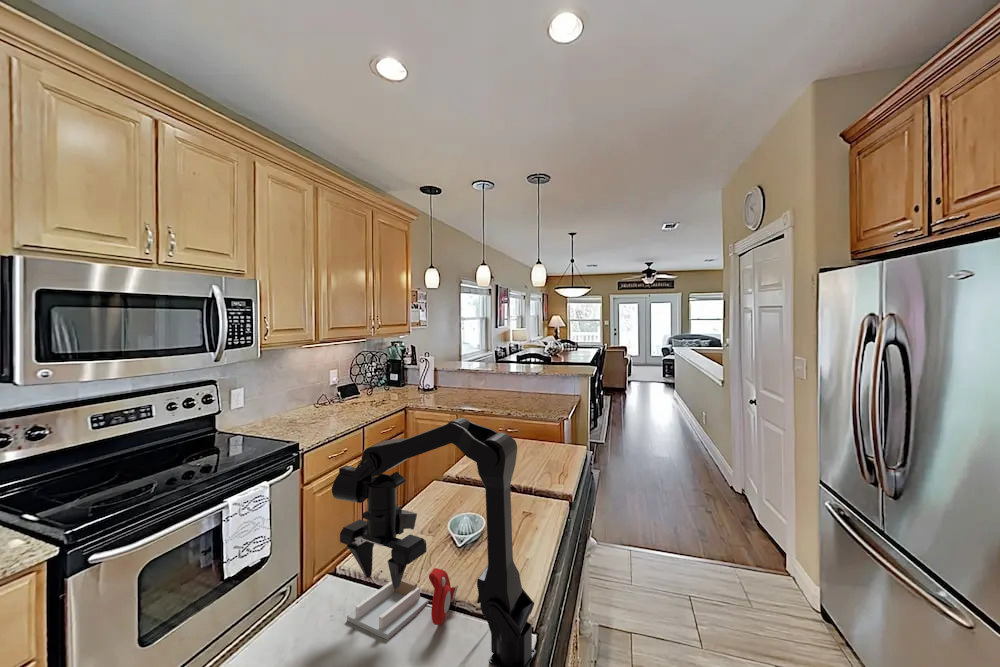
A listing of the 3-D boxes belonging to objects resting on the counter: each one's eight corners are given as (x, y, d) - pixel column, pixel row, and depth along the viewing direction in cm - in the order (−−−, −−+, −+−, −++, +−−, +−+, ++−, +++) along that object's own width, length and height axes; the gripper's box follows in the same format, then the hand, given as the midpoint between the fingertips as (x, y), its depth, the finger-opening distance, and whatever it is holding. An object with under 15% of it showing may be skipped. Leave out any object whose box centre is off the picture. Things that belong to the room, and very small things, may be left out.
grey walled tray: (428, 604, 91) (428, 585, 91) (387, 639, 80) (387, 618, 80) (389, 589, 96) (389, 571, 96) (346, 620, 86) (346, 600, 86)
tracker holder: (441, 638, 81) (440, 585, 81) (419, 634, 82) (419, 582, 82) (461, 599, 93) (461, 553, 93) (442, 596, 94) (442, 550, 94)
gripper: (443, 500, 89) (443, 575, 89) (377, 484, 98) (378, 552, 98) (406, 521, 79) (407, 605, 79) (337, 501, 89) (338, 577, 89)
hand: (382, 582), depth 87 cm, fingers open, 7 cm apart
